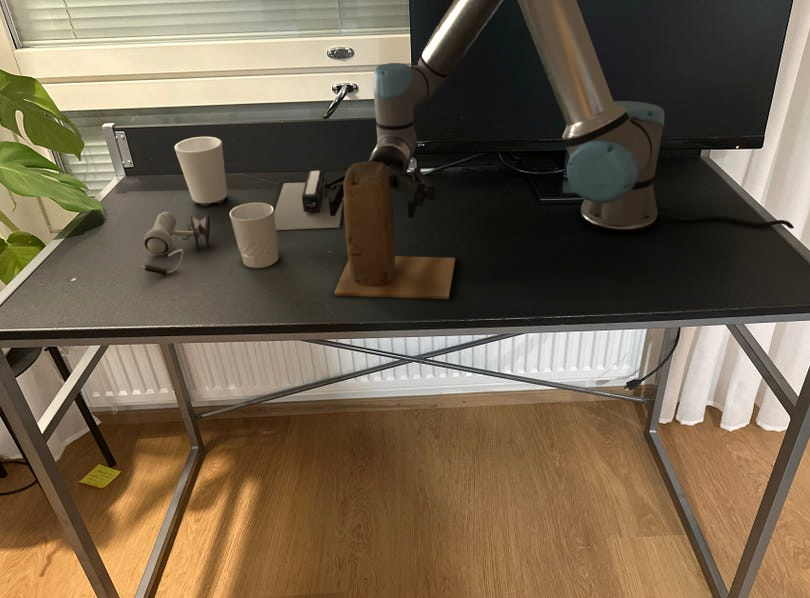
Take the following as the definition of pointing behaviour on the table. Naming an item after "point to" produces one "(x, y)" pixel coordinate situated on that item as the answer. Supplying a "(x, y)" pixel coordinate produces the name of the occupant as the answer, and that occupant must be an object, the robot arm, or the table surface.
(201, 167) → the cup
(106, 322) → the table surface
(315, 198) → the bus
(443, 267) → the cork mat
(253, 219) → the white cup
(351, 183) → the block
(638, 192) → the robot arm
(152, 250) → the clip-on lamp
